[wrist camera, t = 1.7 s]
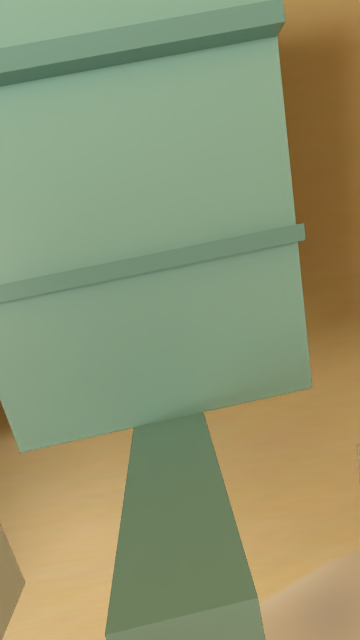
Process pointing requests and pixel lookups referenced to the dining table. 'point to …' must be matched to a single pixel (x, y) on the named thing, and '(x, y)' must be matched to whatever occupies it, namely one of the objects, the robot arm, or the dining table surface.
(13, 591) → the robot arm
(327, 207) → the dining table surface
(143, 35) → the ridged green paddle
